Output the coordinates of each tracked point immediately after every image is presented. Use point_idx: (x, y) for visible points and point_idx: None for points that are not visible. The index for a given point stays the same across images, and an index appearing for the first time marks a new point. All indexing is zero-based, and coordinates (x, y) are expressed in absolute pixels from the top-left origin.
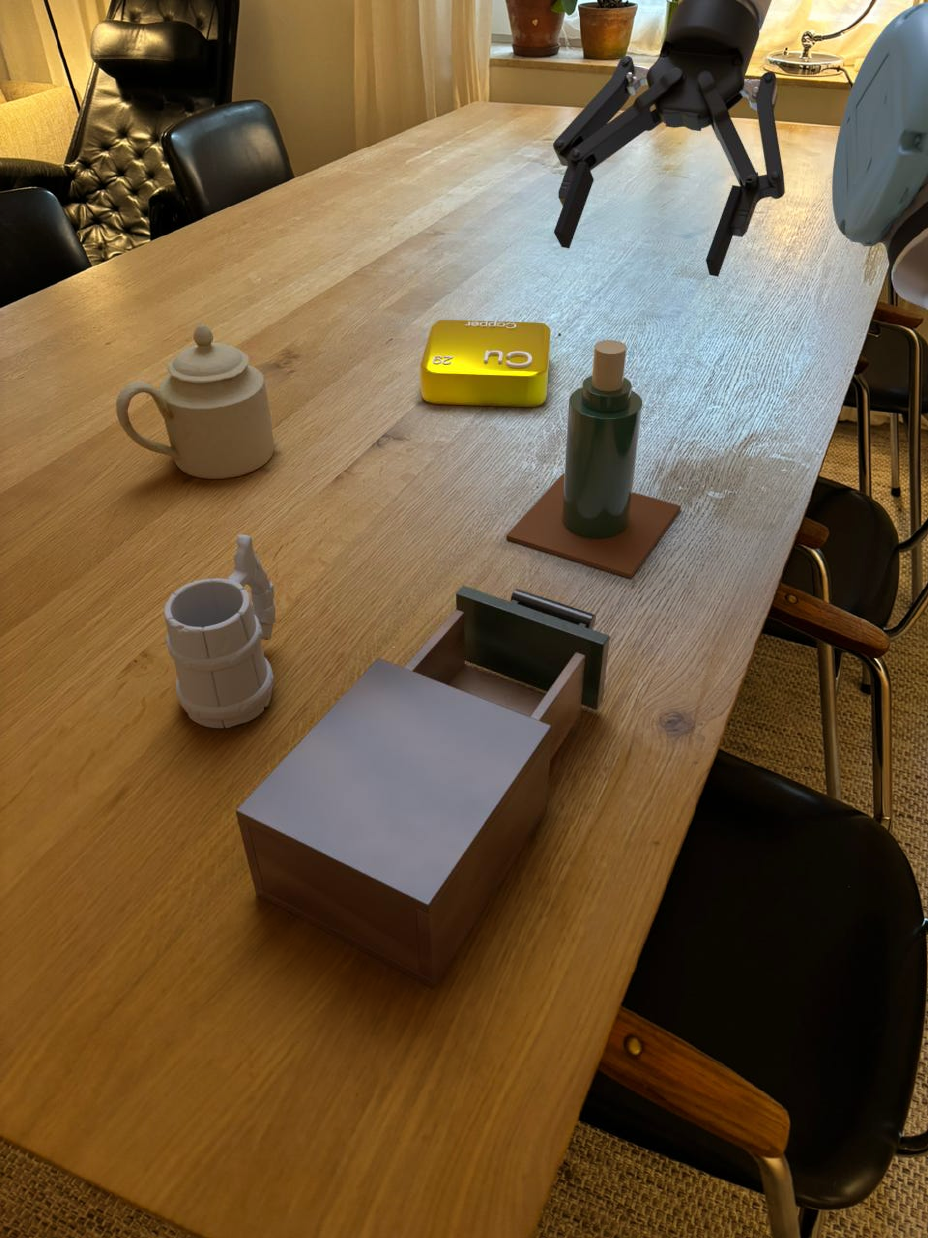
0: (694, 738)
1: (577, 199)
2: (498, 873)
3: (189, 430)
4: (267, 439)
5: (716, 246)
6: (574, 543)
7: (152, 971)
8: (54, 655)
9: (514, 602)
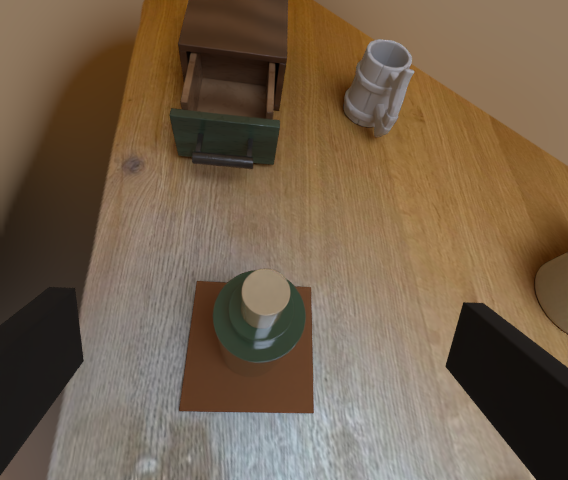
0: (120, 159)
1: (536, 396)
2: None
3: None
4: (557, 302)
5: (33, 309)
6: None
7: (293, 20)
8: (455, 108)
9: (249, 154)
